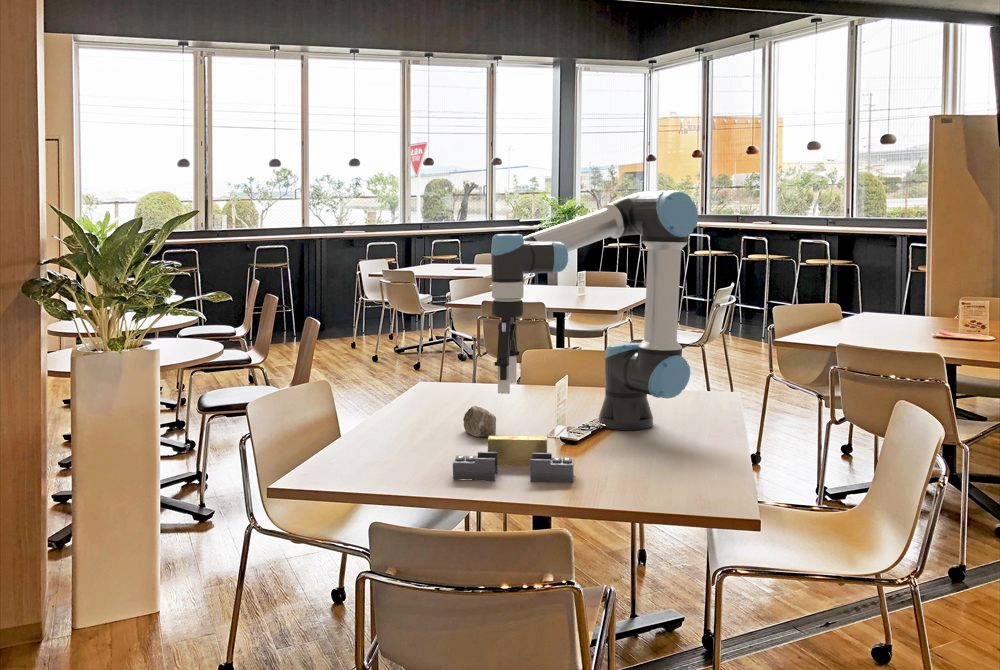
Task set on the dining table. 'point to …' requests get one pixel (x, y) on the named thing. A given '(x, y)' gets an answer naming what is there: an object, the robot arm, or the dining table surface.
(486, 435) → the stone
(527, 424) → the dining table surface
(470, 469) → the grey block pair
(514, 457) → the yellow wood block
